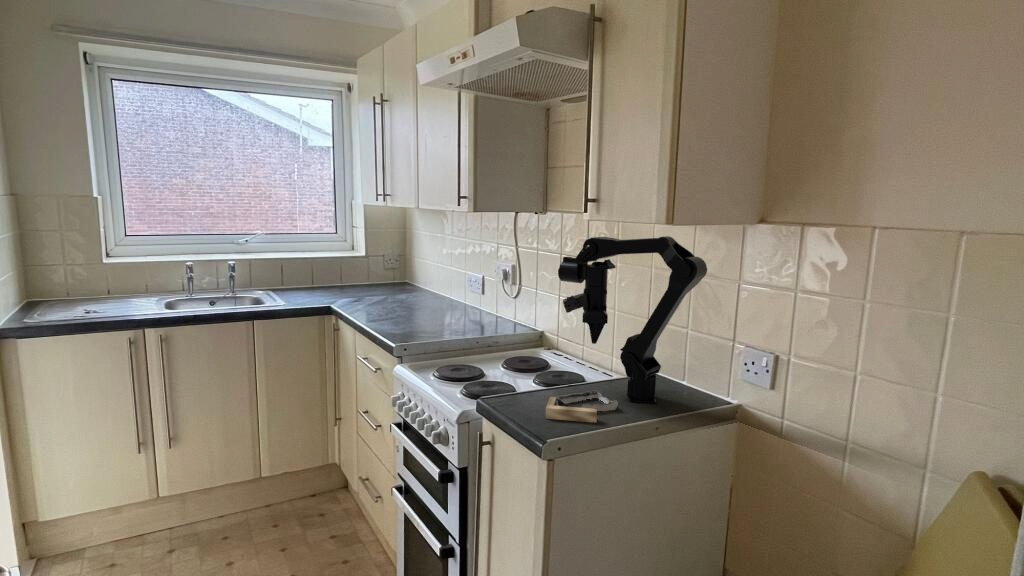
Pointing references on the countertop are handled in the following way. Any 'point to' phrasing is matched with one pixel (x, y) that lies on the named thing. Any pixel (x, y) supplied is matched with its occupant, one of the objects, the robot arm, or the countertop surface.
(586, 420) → the oak fence
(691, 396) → the countertop surface
